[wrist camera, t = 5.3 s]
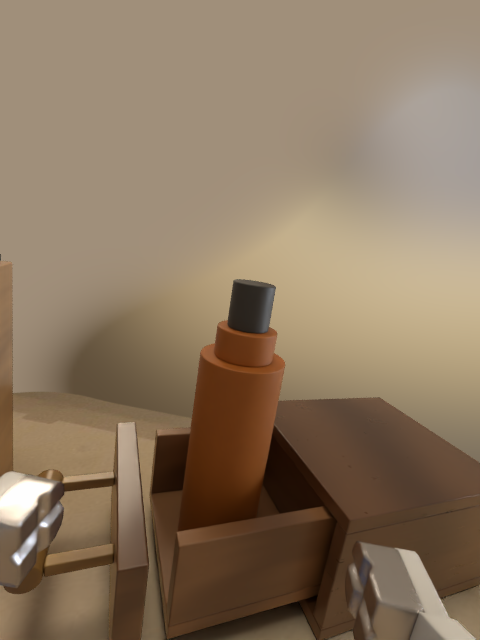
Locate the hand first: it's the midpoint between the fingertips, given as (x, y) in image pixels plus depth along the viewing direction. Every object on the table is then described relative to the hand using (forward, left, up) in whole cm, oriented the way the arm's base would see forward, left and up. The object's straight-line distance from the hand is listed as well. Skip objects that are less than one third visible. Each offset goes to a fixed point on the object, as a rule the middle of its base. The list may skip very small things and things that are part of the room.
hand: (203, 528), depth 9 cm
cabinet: (+15, +8, -12) cm, 20 cm away
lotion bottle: (+4, +8, -10) cm, 13 cm away
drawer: (+2, +8, -11) cm, 14 cm away
